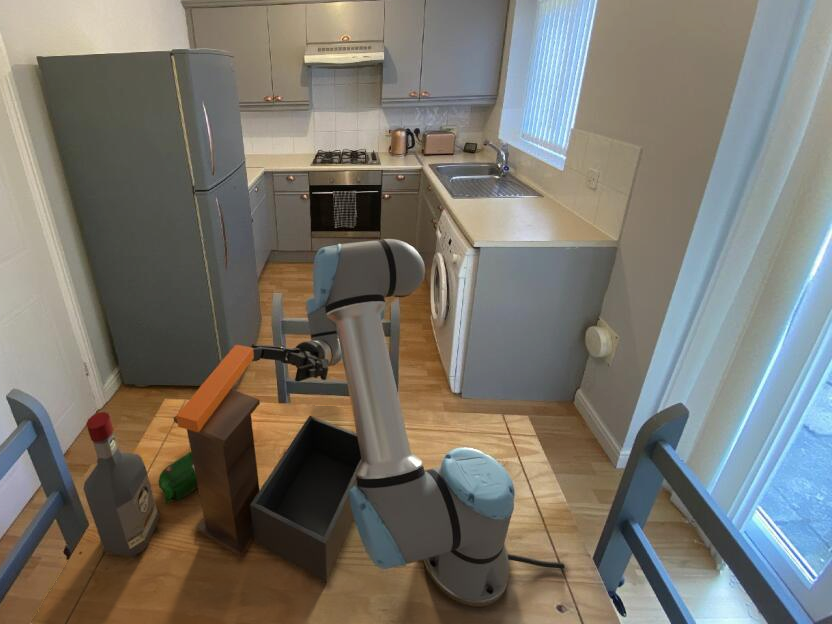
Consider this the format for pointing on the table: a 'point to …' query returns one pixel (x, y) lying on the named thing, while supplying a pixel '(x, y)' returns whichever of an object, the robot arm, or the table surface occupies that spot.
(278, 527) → the dark grey open box
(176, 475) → the snack package
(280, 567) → the table surface
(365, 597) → the table surface
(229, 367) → the orange bar
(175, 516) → the table surface
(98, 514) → the liquor
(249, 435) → the wooden pedestal column
